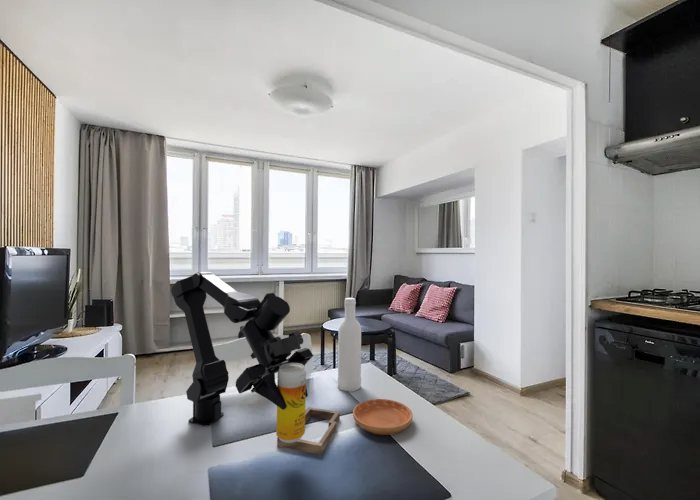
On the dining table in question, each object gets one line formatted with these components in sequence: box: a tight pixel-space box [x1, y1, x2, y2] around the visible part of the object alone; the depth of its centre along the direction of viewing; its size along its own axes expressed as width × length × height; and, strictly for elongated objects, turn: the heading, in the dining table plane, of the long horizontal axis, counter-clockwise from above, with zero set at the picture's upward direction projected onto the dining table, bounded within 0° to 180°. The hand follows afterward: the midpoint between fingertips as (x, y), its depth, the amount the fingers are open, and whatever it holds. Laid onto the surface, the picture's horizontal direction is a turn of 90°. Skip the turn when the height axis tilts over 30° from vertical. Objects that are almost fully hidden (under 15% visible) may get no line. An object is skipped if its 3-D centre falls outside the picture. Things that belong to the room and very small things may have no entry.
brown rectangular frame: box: [276, 406, 341, 455], centre depth 83 cm, size 11×16×2 cm
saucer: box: [352, 398, 414, 436], centre depth 88 cm, size 16×16×3 cm
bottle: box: [337, 297, 362, 392], centre depth 111 cm, size 8×8×30 cm
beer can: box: [275, 363, 307, 443], centre depth 71 cm, size 6×6×15 cm
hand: (296, 402), depth 70 cm, fingers closed on beer can, 6 cm apart
